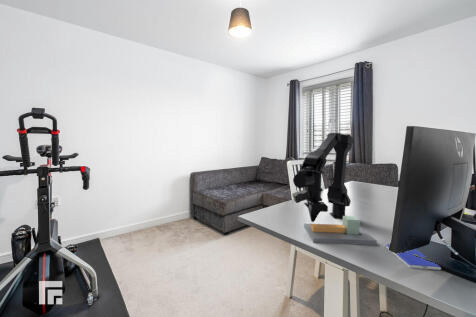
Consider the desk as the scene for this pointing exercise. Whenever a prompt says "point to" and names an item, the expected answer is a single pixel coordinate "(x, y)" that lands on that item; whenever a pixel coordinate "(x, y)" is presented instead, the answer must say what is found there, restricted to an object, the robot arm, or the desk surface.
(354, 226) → the pale green block
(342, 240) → the socket plate
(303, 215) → the desk surface
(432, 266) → the hard drive
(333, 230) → the bar
